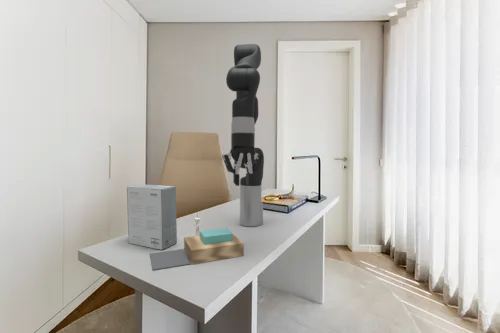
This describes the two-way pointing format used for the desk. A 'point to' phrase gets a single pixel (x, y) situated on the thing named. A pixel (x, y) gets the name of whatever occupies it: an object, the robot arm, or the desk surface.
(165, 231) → the hard drive box
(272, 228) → the desk surface
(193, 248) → the tan wooden flat box
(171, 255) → the mat
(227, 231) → the block
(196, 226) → the chess piece
